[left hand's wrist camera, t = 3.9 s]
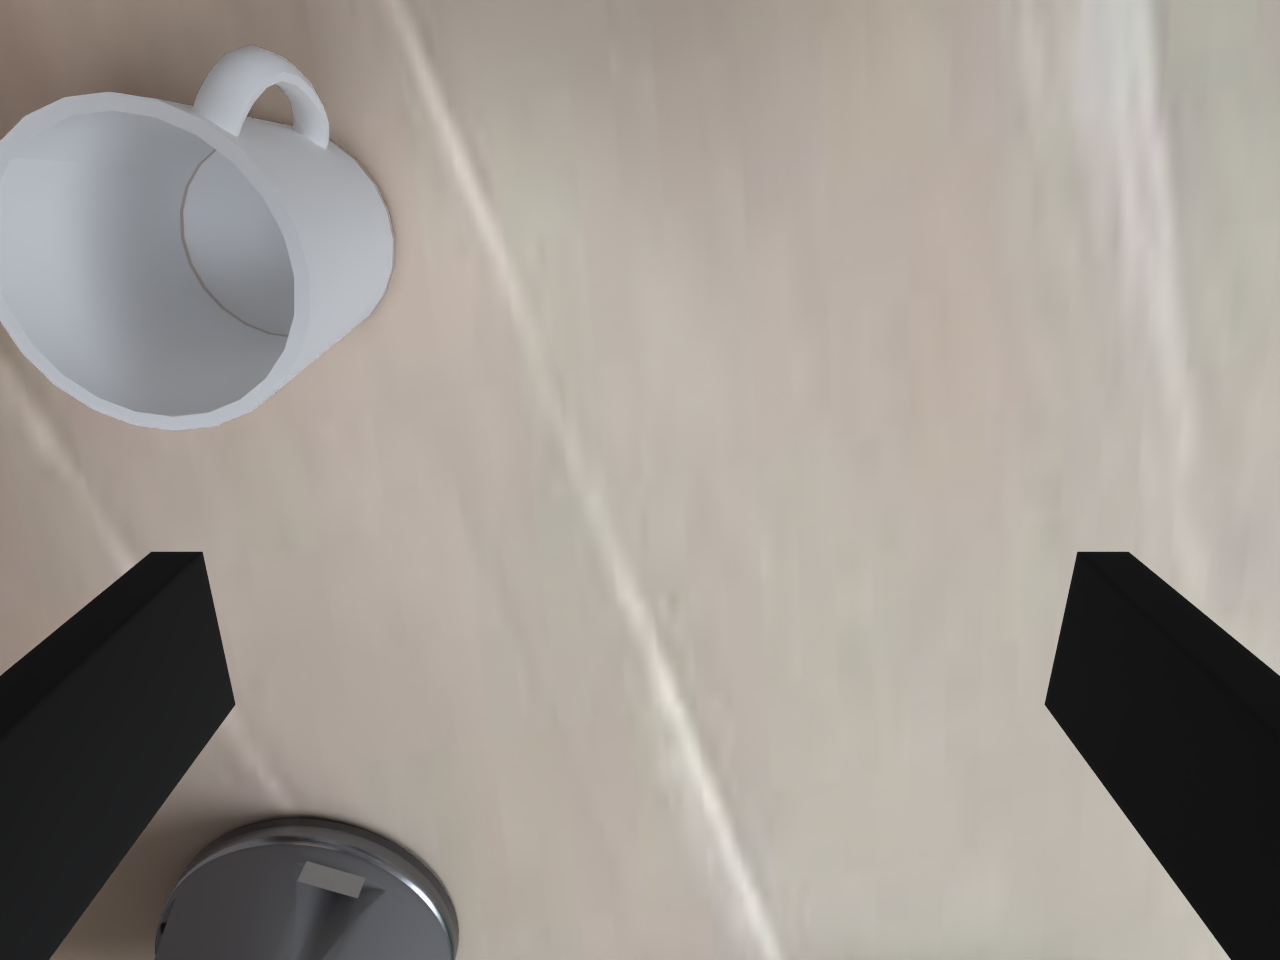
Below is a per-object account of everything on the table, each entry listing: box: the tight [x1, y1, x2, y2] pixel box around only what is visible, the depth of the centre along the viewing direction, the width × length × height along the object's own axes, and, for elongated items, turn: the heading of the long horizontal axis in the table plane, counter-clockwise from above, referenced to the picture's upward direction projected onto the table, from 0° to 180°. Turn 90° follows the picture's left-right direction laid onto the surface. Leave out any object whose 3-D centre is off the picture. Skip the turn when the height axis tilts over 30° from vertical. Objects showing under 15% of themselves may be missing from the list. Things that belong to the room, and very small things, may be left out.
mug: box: [0, 45, 395, 431], centre depth 27 cm, size 11×9×10 cm
